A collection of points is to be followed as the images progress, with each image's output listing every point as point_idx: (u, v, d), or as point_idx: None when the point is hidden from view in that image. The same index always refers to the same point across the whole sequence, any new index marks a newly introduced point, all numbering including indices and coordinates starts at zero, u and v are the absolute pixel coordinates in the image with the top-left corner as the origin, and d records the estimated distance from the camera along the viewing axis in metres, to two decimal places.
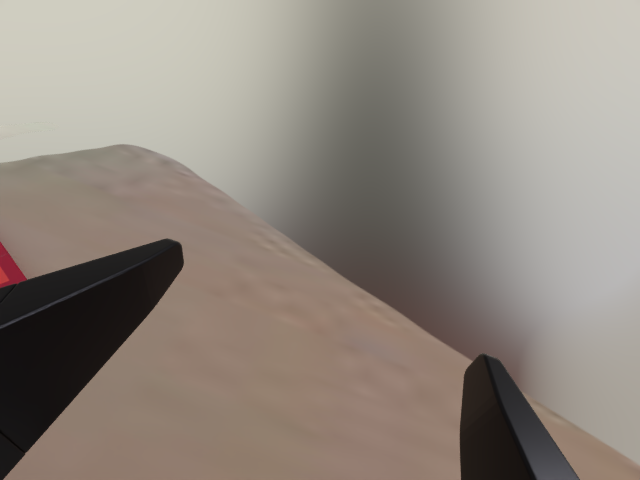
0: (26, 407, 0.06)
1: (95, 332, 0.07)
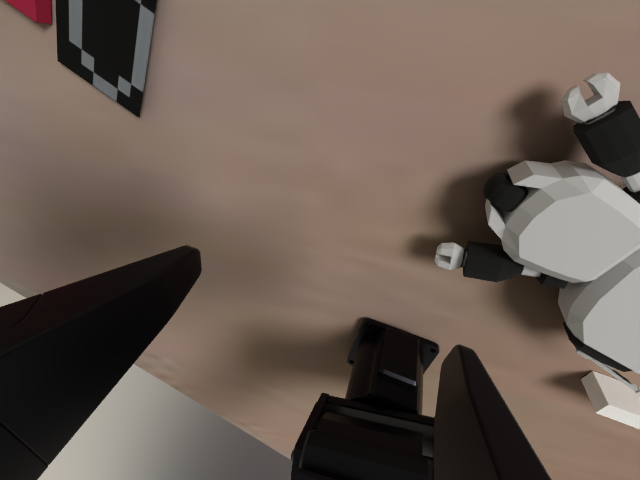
0: (51, 419, 0.06)
1: (118, 342, 0.07)
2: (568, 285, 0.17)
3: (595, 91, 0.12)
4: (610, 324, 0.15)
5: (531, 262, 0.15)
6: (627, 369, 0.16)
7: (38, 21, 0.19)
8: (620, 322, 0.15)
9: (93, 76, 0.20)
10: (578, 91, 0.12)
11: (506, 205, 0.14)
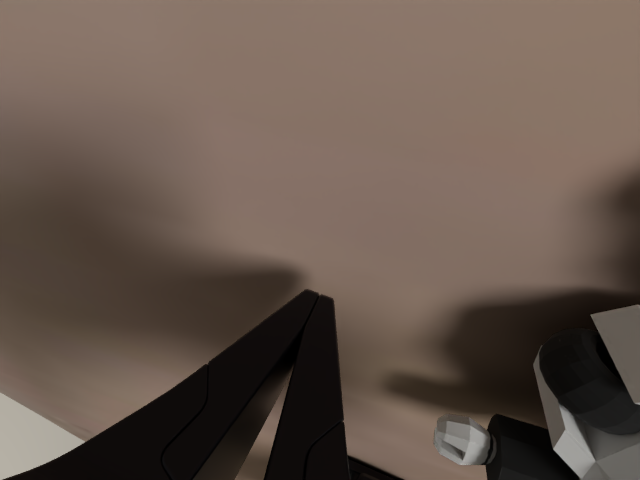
0: None
1: (265, 406, 0.06)
2: None
3: None
4: None
5: None
6: None
7: None
8: None
9: None
10: None
11: (604, 428, 0.06)
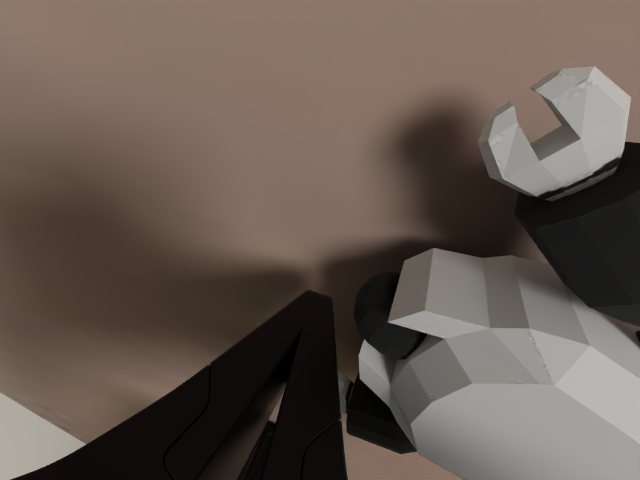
0: None
1: (266, 406, 0.06)
2: None
3: (562, 117, 0.05)
4: None
5: (443, 467, 0.07)
6: None
7: None
8: None
9: None
10: (513, 119, 0.04)
11: (386, 353, 0.07)
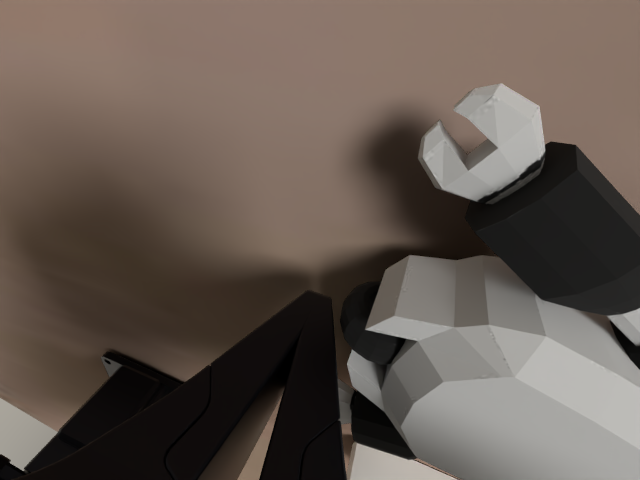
0: None
1: (267, 406, 0.06)
2: None
3: None
4: None
5: (441, 468, 0.07)
6: None
7: None
8: None
9: None
10: (440, 137, 0.05)
11: (371, 360, 0.07)
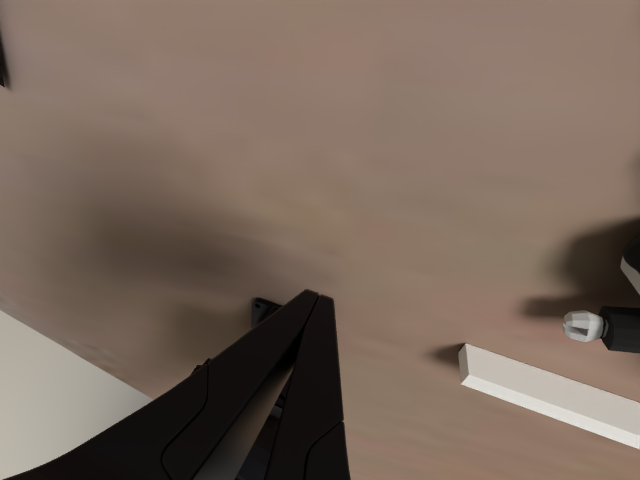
0: None
1: (265, 405, 0.06)
2: None
3: None
4: None
5: None
6: None
7: None
8: None
9: None
10: None
11: None
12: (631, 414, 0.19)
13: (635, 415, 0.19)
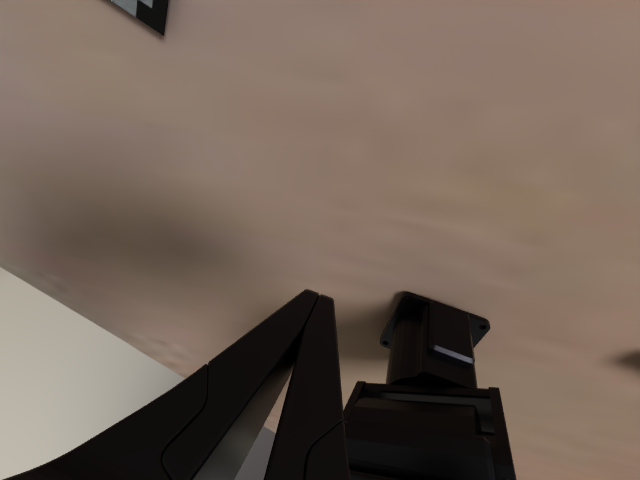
0: None
1: (265, 406, 0.06)
2: None
3: None
4: None
5: None
6: None
7: None
8: None
9: None
10: None
11: None
12: None
13: None
